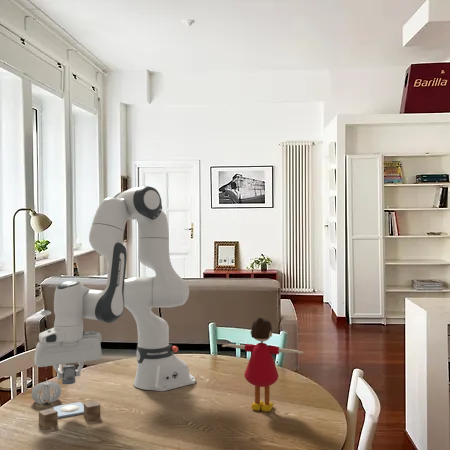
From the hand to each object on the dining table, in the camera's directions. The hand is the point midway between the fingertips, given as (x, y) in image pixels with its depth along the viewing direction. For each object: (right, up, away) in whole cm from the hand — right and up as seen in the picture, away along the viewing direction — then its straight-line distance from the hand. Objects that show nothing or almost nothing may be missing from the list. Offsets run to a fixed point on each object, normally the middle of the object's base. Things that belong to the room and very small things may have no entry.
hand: (68, 377), depth 167 cm
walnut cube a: (+8, -11, -4) cm, 15 cm away
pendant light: (-10, -11, +9) cm, 17 cm away
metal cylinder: (0, -2, 0) cm, 2 cm away
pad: (0, -11, 0) cm, 11 cm away
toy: (+61, -11, +1) cm, 62 cm away
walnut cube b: (-3, -11, -10) cm, 16 cm away
